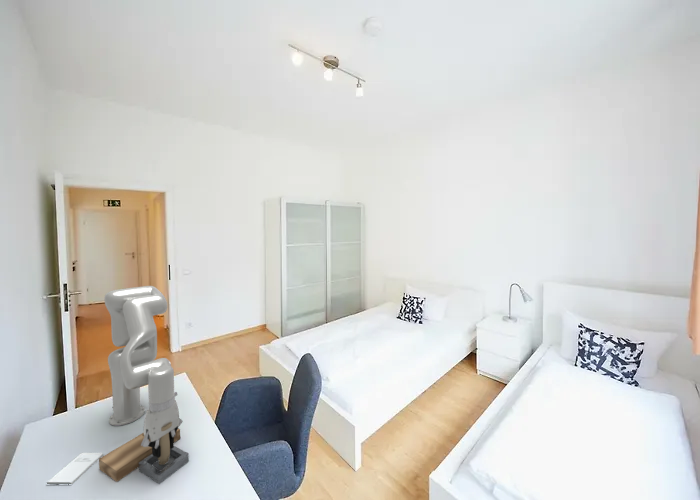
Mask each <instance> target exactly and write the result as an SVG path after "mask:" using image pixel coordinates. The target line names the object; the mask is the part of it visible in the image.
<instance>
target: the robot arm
mask: <svg viewBox="0 0 700 500" xmlns="http://www.w3.org/2000/svg"><path fill="white" fill-rule="evenodd" d="M104 305H105V307H106V310H107V311H108V313H109V315H110V320H111V321H110V322H111V323H110V325H111V329H110V330H111V341H112V343H113V345H114V346H115V347H117V348H118V347H120V348H118V349H116V350H115V349H114V350H113V351H112V352H110V353H109V355H108V356H107V364H108V368H109V372H110V377H111V391H112V392H111V393H112V411H113V412H112V414H111V416H110V417H109V419H108V424H109V425H111V426H118V427H121V426H124V425H129V424H131V423H133V422H135V421H137V420H138V419H140V418H141V417H142V416H144V414H145V416H144V422H143V423H144V424H143V432H144V439H143V441H142V443H141V446H143V447H152V454H153V456H156V457H157V458H159V457H160V456H161V449H160V446H159V440H160V438H161V437H162V436H164V435H165V434H167V433H168V432H169V440H170V448H171V449H172V448H174V446H175V443H174V436H175V433H176V431H177V429H178V428H179V427H180V426H181V425H182V424H183V423H184V422H183V420H182V418H180V411H179V405H178V403H177V401H176V397H177V396H178V392H177V391H175V372H174V368H173V366H172V363H171V360H169V359H168V358H167V357H160V358H157V354H158V330H157V329H158V328H157V325H156V323H155V320H154V316H157V315H162V314H165V313H166V311H168V301H167V299H166V297H165V295H164V294H163V292H161V291H160V290H159V289H158V288H157V287H155V286H153V285H144V286H143V285H142V286H136V287H135V286H134V287H127V288H121V289H120V288H119V289H113V290H110V291H108V292H106V293H105V295H104ZM156 358H157V359H156ZM145 386H148V387H147V388H148V409H147V410H146V409H145V407H144V406H142V405H141V388H142V387H145ZM145 410H146V411H145ZM170 422H172V426H171V427H170V428H169V429H167V430H165V431H161V428H162V427H164V426H166V425H167V424H169V423H170ZM149 439H150V440H151V441H149Z"/></svg>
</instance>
